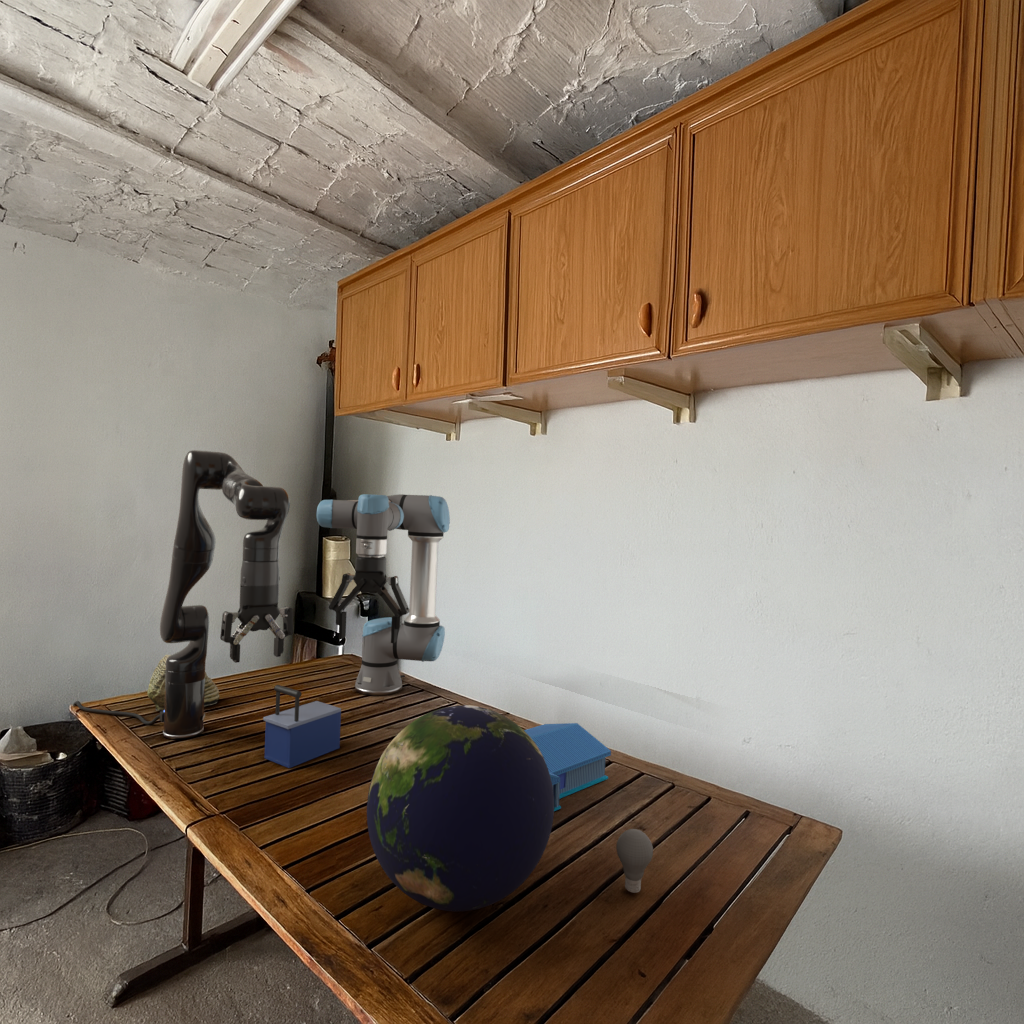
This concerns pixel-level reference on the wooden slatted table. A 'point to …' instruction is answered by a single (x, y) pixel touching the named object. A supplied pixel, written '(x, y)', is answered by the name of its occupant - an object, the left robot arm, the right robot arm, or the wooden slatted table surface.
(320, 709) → the grey lid
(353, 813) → the wooden slatted table surface
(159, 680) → the fossil
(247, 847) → the wooden slatted table surface
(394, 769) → the globe
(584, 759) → the model building
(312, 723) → the chest
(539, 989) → the wooden slatted table surface
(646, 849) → the light bulb
